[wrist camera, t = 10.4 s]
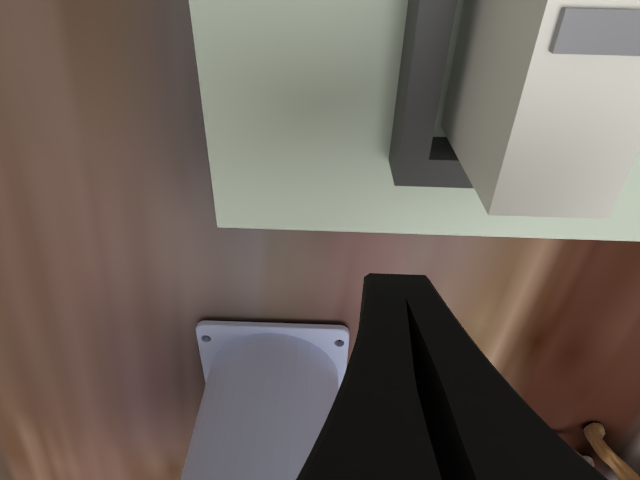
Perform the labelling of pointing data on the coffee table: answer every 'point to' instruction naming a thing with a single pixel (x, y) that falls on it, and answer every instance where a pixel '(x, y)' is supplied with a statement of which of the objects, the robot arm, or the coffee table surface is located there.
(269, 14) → the board
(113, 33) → the coffee table surface
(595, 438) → the lion figurine
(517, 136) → the plug
